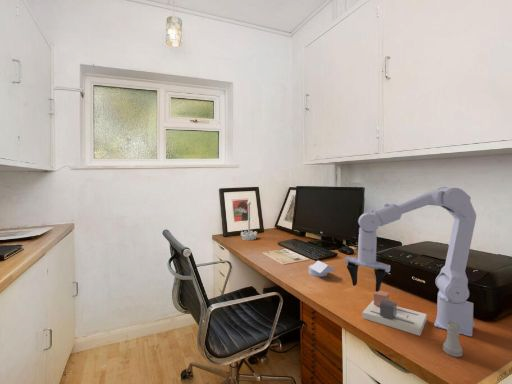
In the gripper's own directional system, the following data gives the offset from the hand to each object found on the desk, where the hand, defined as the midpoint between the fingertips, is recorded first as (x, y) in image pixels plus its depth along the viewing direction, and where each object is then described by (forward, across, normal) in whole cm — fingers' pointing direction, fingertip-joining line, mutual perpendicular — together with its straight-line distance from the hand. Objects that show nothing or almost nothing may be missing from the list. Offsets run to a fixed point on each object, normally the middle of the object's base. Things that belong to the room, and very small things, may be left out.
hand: (365, 287), depth 94 cm
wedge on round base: (+10, -31, +28) cm, 43 cm away
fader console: (+10, +8, +4) cm, 13 cm away
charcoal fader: (+7, +7, 0) cm, 10 cm away
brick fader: (+7, +3, +7) cm, 10 cm away
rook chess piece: (+10, +25, -6) cm, 27 cm away
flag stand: (+11, -115, +68) cm, 134 cm away
